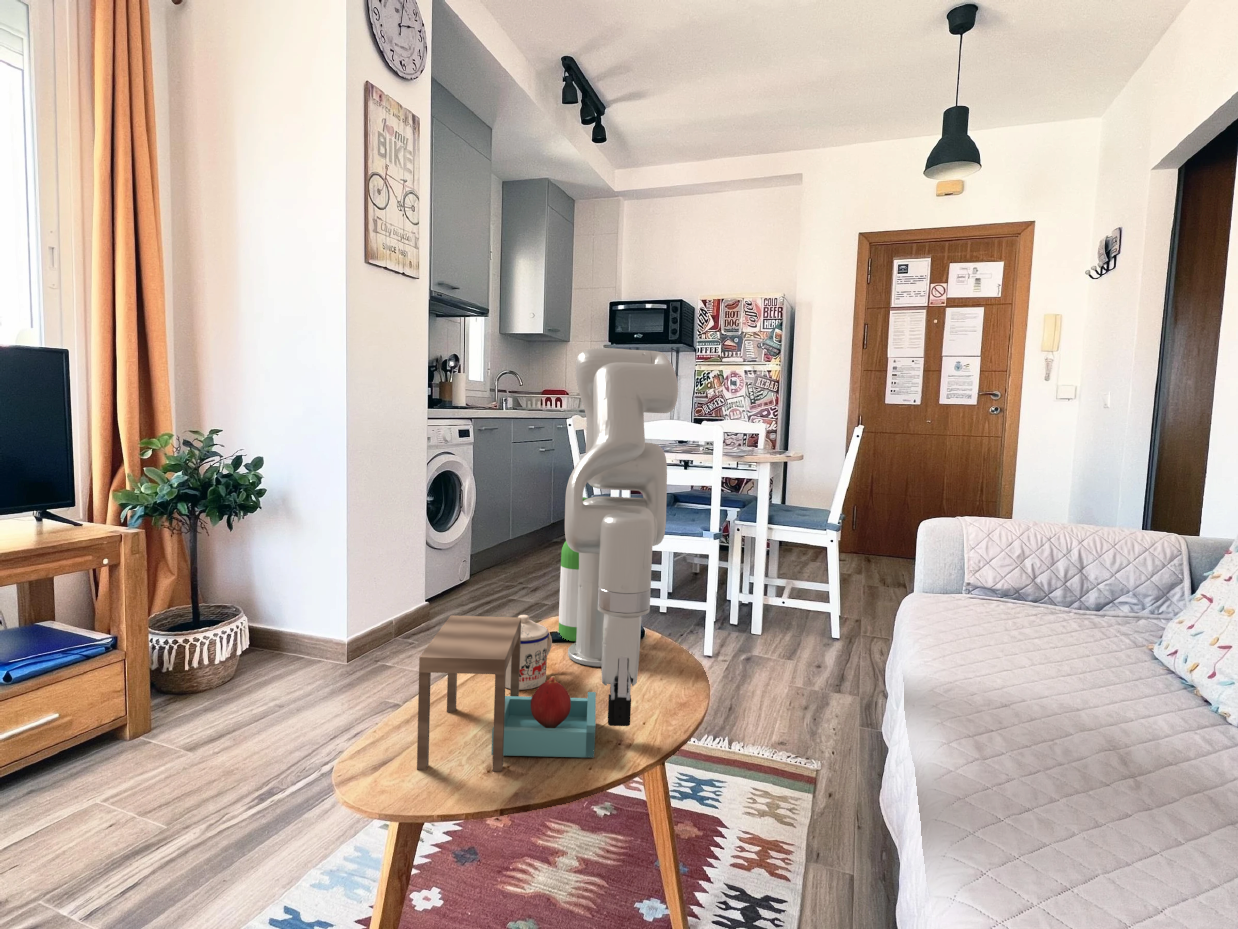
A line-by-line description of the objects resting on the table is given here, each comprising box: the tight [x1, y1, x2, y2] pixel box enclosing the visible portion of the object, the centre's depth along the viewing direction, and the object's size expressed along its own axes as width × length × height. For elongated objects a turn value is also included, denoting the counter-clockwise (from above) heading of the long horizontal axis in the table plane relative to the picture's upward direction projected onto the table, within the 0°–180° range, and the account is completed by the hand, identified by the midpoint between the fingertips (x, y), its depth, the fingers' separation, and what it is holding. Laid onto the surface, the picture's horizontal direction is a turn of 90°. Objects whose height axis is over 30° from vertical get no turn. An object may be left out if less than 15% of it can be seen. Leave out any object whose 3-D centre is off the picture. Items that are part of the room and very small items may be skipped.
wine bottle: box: [558, 496, 588, 642], centre depth 138 cm, size 8×8×30 cm
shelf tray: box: [491, 691, 597, 758], centre depth 94 cm, size 11×14×4 cm
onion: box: [531, 675, 571, 728], centre depth 94 cm, size 6×6×8 cm
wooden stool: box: [416, 615, 521, 772], centre depth 93 cm, size 18×11×15 cm, turn 2°
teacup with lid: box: [505, 614, 553, 691], centre depth 116 cm, size 12×9×12 cm
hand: (618, 723), depth 94 cm, fingers closed
